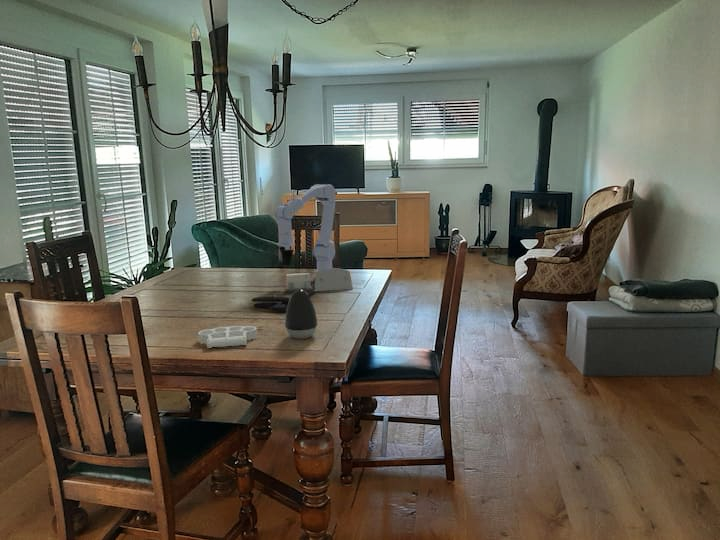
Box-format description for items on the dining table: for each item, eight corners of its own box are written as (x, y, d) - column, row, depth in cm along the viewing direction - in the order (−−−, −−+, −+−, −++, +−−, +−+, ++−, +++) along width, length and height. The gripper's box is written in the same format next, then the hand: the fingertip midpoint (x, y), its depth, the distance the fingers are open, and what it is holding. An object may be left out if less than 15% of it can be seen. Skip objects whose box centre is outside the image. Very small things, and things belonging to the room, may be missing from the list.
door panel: (287, 287, 237) (286, 274, 235) (309, 286, 239) (309, 272, 238) (287, 289, 234) (286, 275, 233) (310, 287, 236) (310, 274, 235)
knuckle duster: (196, 352, 162) (200, 337, 176) (257, 346, 166) (256, 332, 180) (195, 341, 161) (199, 327, 176) (257, 336, 165) (256, 322, 179)
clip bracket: (285, 289, 239) (285, 280, 238) (310, 287, 241) (310, 278, 241) (287, 292, 232) (286, 283, 231) (312, 290, 235) (312, 281, 234)
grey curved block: (314, 291, 234) (313, 268, 235) (314, 292, 238) (313, 269, 240) (353, 289, 235) (351, 266, 237) (352, 290, 240) (351, 268, 241)
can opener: (295, 309, 206) (294, 295, 205) (284, 314, 200) (283, 299, 199) (259, 304, 215) (258, 290, 214) (247, 309, 209) (246, 294, 208)
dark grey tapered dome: (322, 338, 170) (320, 291, 167) (289, 343, 167) (287, 295, 164) (313, 329, 179) (312, 284, 177) (282, 333, 176) (280, 288, 173)
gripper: (274, 231, 245) (276, 261, 248) (277, 235, 231) (279, 267, 234) (290, 231, 246) (291, 260, 249) (294, 234, 233) (295, 266, 235)
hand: (286, 263), depth 242 cm, fingers open, 7 cm apart
